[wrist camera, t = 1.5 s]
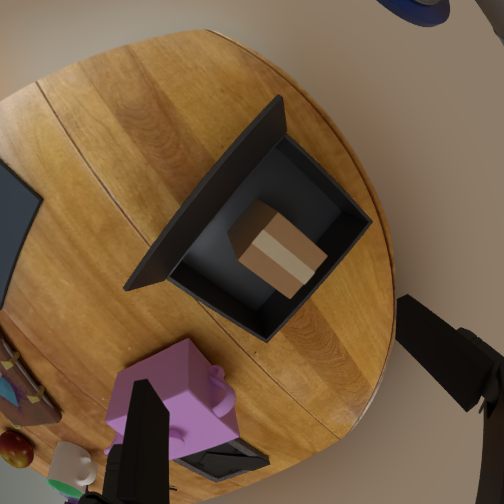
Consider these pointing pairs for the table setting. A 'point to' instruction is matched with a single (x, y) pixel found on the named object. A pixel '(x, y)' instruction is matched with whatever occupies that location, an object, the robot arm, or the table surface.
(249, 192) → the carton
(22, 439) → the fruit
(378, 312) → the table surface
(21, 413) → the book
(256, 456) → the picture frame
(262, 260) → the parcel
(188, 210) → the flap
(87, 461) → the mug
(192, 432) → the teapot
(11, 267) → the mat
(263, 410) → the table surface
